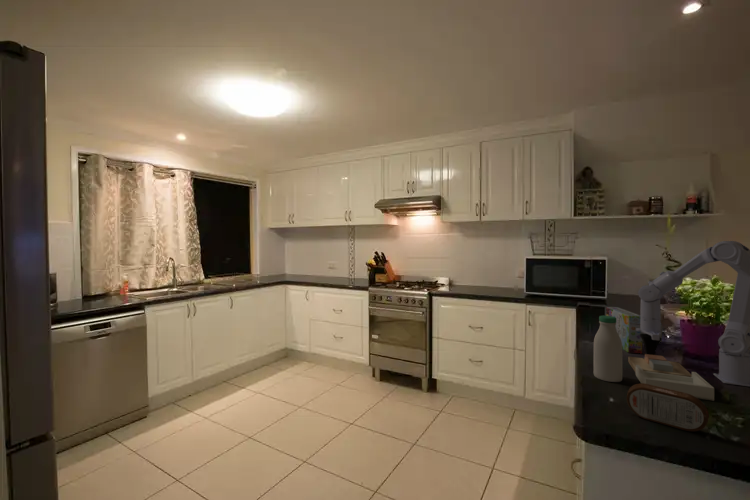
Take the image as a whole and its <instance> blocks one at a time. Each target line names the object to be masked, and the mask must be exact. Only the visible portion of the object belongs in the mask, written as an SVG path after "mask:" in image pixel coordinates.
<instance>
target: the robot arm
mask: <svg viewBox="0 0 750 500" xmlns="http://www.w3.org/2000/svg"><path fill="white" fill-rule="evenodd" d="M714 262H715V263H716V262H722V263H724V264H727V265H728V266H729V267H730V268H731V269H733V270H734V271H735V272H736V273H737V274H736V275H737V276H736V280H735V285H734V291H733V296H732V301H731V306H730V309H729V311H730V312H729V316H728V320H727V322H726V323H727V324H726V326H725V328H724V332H723V334H721V336H719V338H718V340H717V341H718V342H717V343H718V346H719V347H720V348H719V349H718V352H719V353H718V373H714V372H713V373H712V374H713V376H714V377H715V378H717V379H719V381H721V383H723V384H726V385H727V384H728V385H736V386H742V387H750V248H749V247H747V246H745V245H744V244H743V243H741V242H739V241H736V240H722V241H718V242H717V243H715V244H713V246H709V247H707V248H705V249H704V250H702V251H700V252H698V253H697V254H696V255H694V256H692V258H690V259H689V260H688V261H686V262H685V263H683V264H682V265H681V266H679V267H678V268H677V269H674V270H666V271H662V272H660V273H659V276H658V277H656V278H655V279H653V280H649V281H648V282H647V284H648V285H642V286H641V287H640V288H639V289H638V291H637V295H638V298H640V305H639V306H640V307H639V309H640V311H639V313H640V314H639V315H640V328H636V330H637V331H641V332H643V333H646V334H640V336H641V338H642V340H643V343H642V344H643V347H644V350H645V354H649V355H656V352H657V349H658V346H659V344H661V343H660V341H661V340H662V341H663V337H662V338H660V334H661V324H662V323H661V320H662V319H661V317H662V315H661V314H662V313H661V312H662V311H661V299H662V298H663V297H664V295H666V294H668V293H670V292H671V291H672V290H674V289H676V288H677V287H679V286H680V285H682V284H683V279H684V277H685V278H686V277H687V276H688V275H690V274H691V273H693V272H695V271H697V270H698V269H700V268H701V267H703V266H705V265H706V264H711V263H714Z"/></svg>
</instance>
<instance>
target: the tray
mask: <svg viewBox="0 0 750 500" xmlns="http://www.w3.org/2000/svg"><path fill="white" fill-rule="evenodd" d="M691 375H692V377H687V376H679V375H672V374H664V373H656V372H649V371H643V369H642V368H641V367H640V365H636V373H635V377H636V378H637V380H638V381H639V382H640V383H639V384H641V383H643V384H649V385H653V386H658V387H662V388H666V389H671V390H675V391H679V392H684V393H688V394H690V395H693V396H695V397H696V398H698V399H699V400H704V401H705V400H707V401H713V402H714V401H715V387H714V386H713V385H711V384H710V383H709V382H708V381H706V380H705V379H704V378H703V377H702V376H701V375H700V374H699V373H697V372H696V371H691Z"/></svg>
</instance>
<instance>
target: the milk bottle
mask: <svg viewBox="0 0 750 500" xmlns="http://www.w3.org/2000/svg"><path fill="white" fill-rule="evenodd" d="M598 320H599V321H598V323H599V328H598V330H597V331H596V333H595V336H594V339H593V376H594V377H595V378H596V379H598V380H601V381H605V382H609V383H611V382H612V383H620V382H622V381H623V349H622V342H621V339H620V337H619V335H618V333H617V330H616V326H615V325H616V317H613V316H606V315H599V317H598Z"/></svg>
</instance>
